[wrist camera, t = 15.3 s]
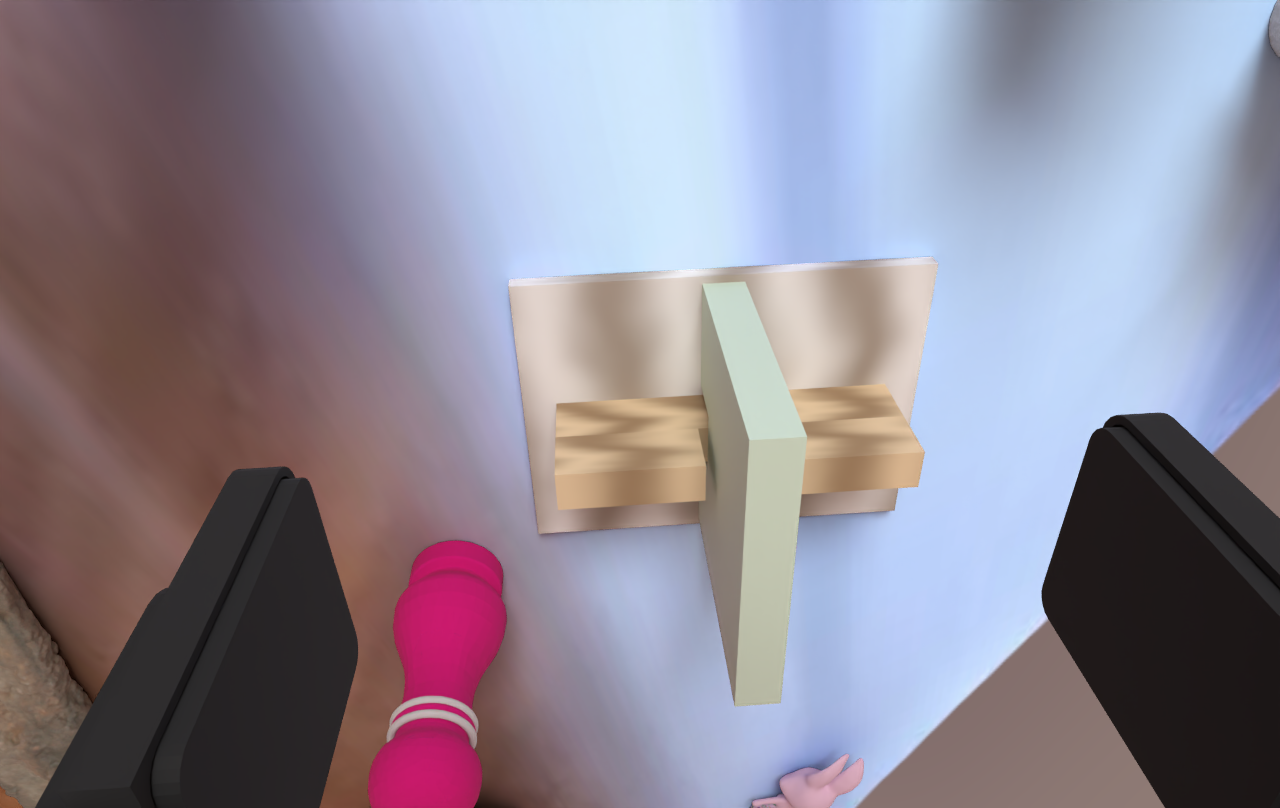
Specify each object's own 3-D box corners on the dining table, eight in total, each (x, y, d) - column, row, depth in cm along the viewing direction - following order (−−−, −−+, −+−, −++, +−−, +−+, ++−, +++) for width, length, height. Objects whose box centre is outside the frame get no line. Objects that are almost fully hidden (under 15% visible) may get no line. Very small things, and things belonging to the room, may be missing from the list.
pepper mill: (488, 522, 57) (454, 801, 40) (524, 595, 61) (507, 877, 44) (387, 548, 58) (313, 833, 41) (429, 619, 62) (377, 905, 45)
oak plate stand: (539, 523, 57) (534, 612, 51) (509, 279, 48) (499, 349, 41) (889, 500, 58) (930, 585, 52) (932, 256, 49) (989, 321, 42)
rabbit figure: (777, 812, 81) (880, 746, 72) (784, 880, 76) (895, 818, 68) (722, 797, 79) (821, 727, 70) (726, 866, 74) (832, 800, 66)
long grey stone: (3, 474, 54) (-150, 481, 55) (-54, 526, 50) (-221, 534, 50) (180, 815, 72) (63, 820, 72) (149, 876, 67) (25, 882, 68)
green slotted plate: (702, 283, 47) (749, 440, 35) (745, 281, 48) (807, 436, 35) (698, 516, 57) (734, 706, 44) (734, 514, 57) (780, 703, 44)
